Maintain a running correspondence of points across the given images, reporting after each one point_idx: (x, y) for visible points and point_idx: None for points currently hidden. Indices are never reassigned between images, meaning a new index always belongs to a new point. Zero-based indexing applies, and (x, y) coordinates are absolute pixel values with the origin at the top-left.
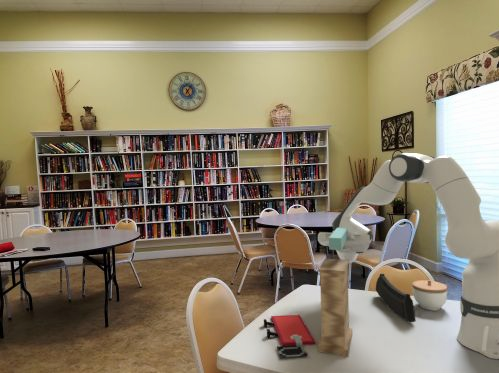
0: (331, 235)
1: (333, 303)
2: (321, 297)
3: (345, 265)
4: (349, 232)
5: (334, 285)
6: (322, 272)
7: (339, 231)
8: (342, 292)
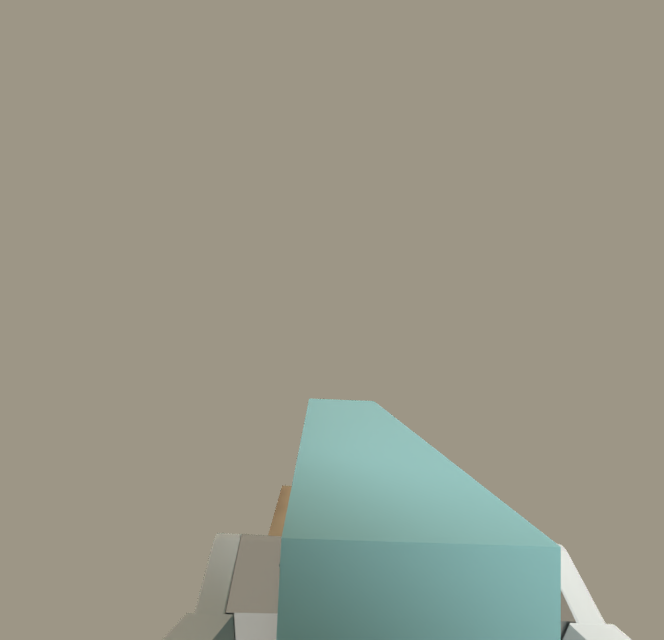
0: (379, 408)
1: None
2: None
3: (280, 512)
4: (241, 543)
5: None
6: None
7: (363, 435)
8: None
